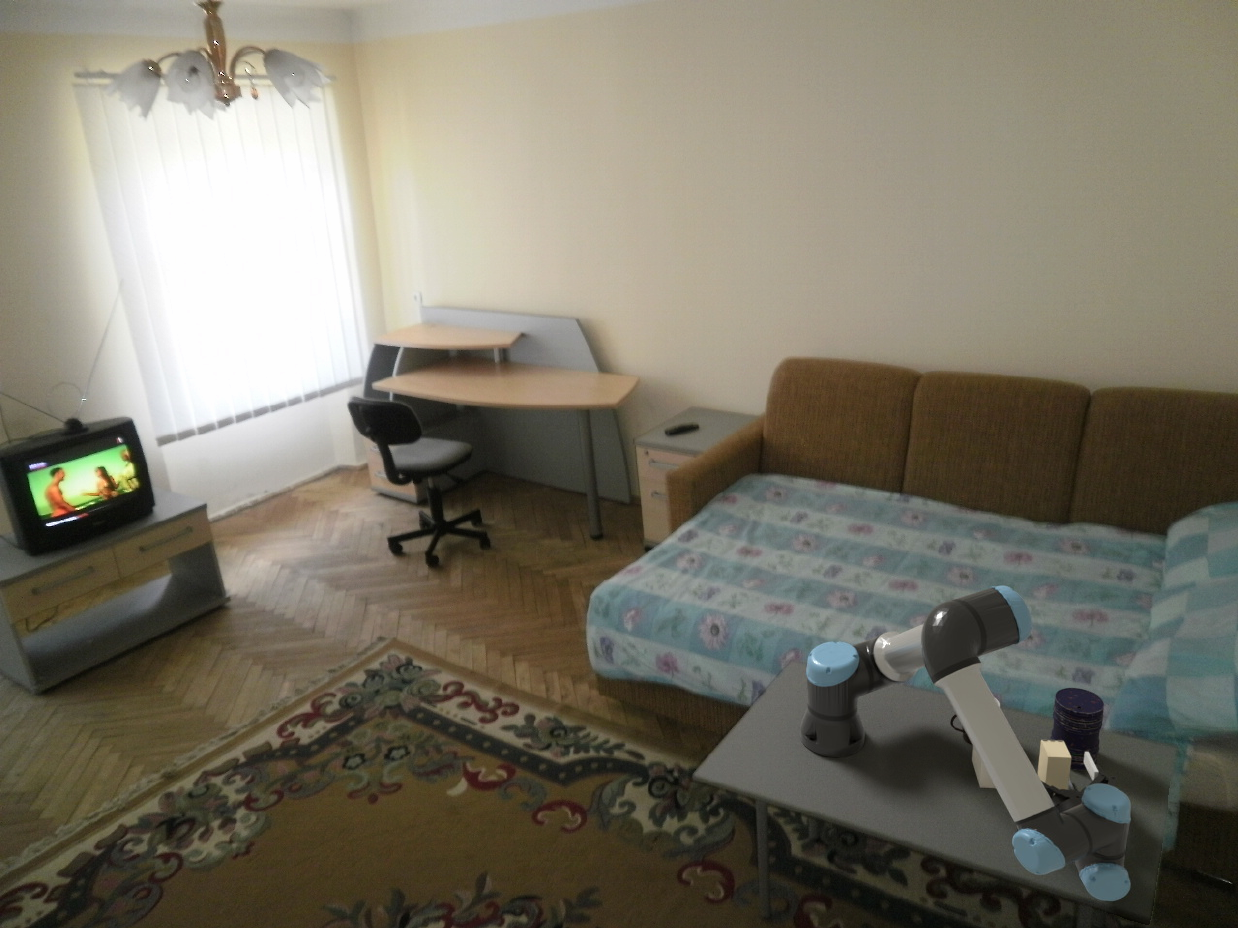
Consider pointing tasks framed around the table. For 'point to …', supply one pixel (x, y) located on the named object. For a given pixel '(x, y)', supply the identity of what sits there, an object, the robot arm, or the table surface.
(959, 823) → the table surface
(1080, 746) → the storage jar
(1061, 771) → the cream rectangular block
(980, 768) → the cream box with panel
